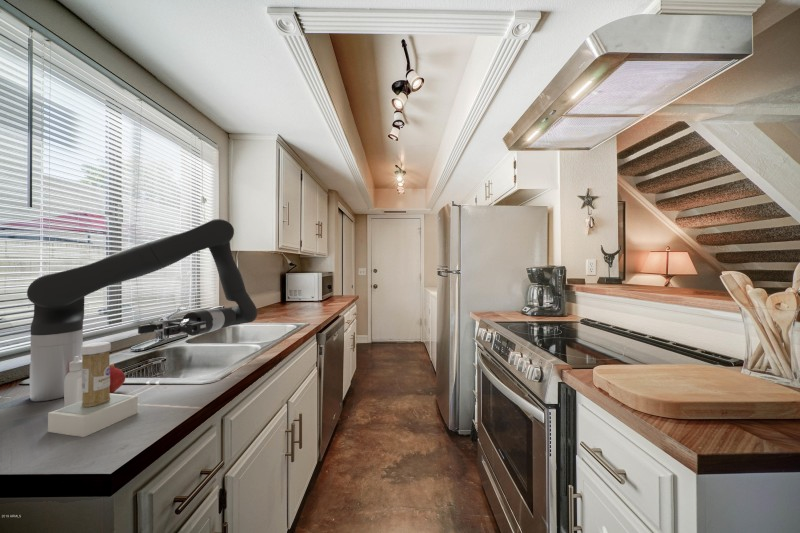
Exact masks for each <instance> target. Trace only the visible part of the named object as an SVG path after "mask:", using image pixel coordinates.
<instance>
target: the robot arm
mask: <svg viewBox="0 0 800 533" xmlns="http://www.w3.org/2000/svg"><path fill="white" fill-rule="evenodd" d="M234 235H235V228H234V226H233V225H232V224H231V223H230V222H229V221H227V220H225V219H222V218H221V219H220V218H214V219H211V220H209V221H206V222H203V223H202V224H200V225H198V226H195V227H194V228H191V229H189V230H186V231H183V232H178V233H176V234H171V235H167V236H163V237H160V238H156V239H152V240H149V241H146V242H142V243H140V244H137V245H133V246H130V247H129V248H126V249H123V250H119V251H118V252H115V253H112V254H110V255H108V256H106V257H104V258H102V259H99V260H97V261H95V262H92V263H88V264H85V265H82V266H78V267H73V268H70V269H67V270H62V271H59V272H53V273H49V274H45V275H42V276H39V277H38V278H36V279H35V280H33V281H32V282H31V283H30V284H29V286H28V287H27V291H26V297H27V299H28V300H29V301H30V302H31V303H32V304H33V317H32V321H31V324H30V363H29V398H30V400H29V401H32V402H45V401H52V400H56V399H61V398H64V379H65V376H66V375H67V374H68V373H69V372H70V371H69V363H70V362H72V361H73V360H74V357H75V356H79V359H80V360H82V354H81V347H82V346H83V345H84V340H83V339H84V338H83V336H84V334H83V332H84V331H83V328H84V327H83V326H84V318H85V297H86V296H88V295H90V294H92V293H94V292H97V291H99V290H101V289H104V288H105V287H109V286H112V285H115V284H118V283H123V282H126V281H130V280H133V279H137V278H140V277H142V276H145V275H149V274H152V273H154V272H156V271H159V270H162V269H164V268H167V267H168V266H171V265H173V264H175V263H177V262H180V261H182V260H183V259H185V258H187V257H188V256H190V255H193V254H194V253H196V252H199V251H203V250H206V249H209V252H210V254H211V256H212V258H213V260H214V261H213V262H214V263H215V267H216V269H217V273H218V277H219V280H220V284H221V287H222V291H223V293H224V296H225V299H226V300H227V301H228V302H234V303H235V304H237V305H235V306H229V307H218V308H208V309H207V308H206V309H199V310H192V311H188V312H186V313H185V315H184V316H183V317H180V318H179V317H177V318H175V319H171V318H168V319H161V320H156V321H150V322H149V324H144V325H143V324H141V325H139V326H138V328H137V333H138V334H139V335H143V334H149V333H155V332H162V333H163V336H164V337H168V336H173V335H179V334H180V335H182V334H186V335H189V336H198V335H203V334H206V333H207V334H208V333H212V332H215V331H217V330H221V329H222V330H223V329H225V328H229V327H231V326H236V325H243V324H249V323H253V322H254V321H255V320H256V319H257V317H258V309H257V306H256V304H255V303H254V301H253V300H252V298H251V296H250V295H249V294H248V292H247V289H246V286H245V283H244V280H243V277H242V274H241V272H240V270H239V268H238V266H237V264H236V261H235V259H234V256H233V253H232V249H231V243H230V242H231V240H233V237H234Z"/></svg>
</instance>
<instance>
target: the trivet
mask: <svg viewBox="0 0 800 533" xmlns="http://www.w3.org/2000/svg"><path fill="white" fill-rule="evenodd" d="M138 398H139V397H138V395H130V394H120V393H110V400H109V401H107V402H105V403H103V404H100V405H97V406H92V407H83V406H82V402H83V401H80V402H78V403H75V404H72V405H69V406H66V407H64V406H63V407H61V408H58V409H56V410H53V411H49V412H48V413H47V432H48V433H53V434H59V435H67V436H75V437H79V438H80V437H82V438H86V437H87V436H89V435H92V434H93V433H94V434H95V433H96V432H98V431H99V432H100V431H101V430H103V429H105V428H107V427H110V426H112V425H113V424H114V425H115V424H116V423H118V422H120V421H123V420H125V419H128V418H129V417H132V416H134V415H136V414H138V412H139V411H138V410H139V408H138V407H139V404H138V403H139V399H138Z"/></svg>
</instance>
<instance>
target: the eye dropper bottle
mask: <svg viewBox="0 0 800 533" xmlns="http://www.w3.org/2000/svg"><path fill="white" fill-rule="evenodd" d="M69 371H70V372H69V373H68V374H67V375H66V376H65V379H64V397H63V398H64V399H63V407H66V406H69V405H72V404H75V403H78V402H80V401H83V392H82V360H80V359H79V356H75V357H74V360H73V361H72V362H70V363H69Z"/></svg>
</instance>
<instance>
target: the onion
mask: <svg viewBox="0 0 800 533" xmlns="http://www.w3.org/2000/svg"><path fill="white" fill-rule="evenodd" d="M125 381H126V374H125V373H124V372H123V370H122V369H120V368H117V367H115V364H114V363H113V364H110V393H113V394H115V392H116V391H117V390H118V389H119V388H120V387H122V386H123V384H125Z"/></svg>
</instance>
